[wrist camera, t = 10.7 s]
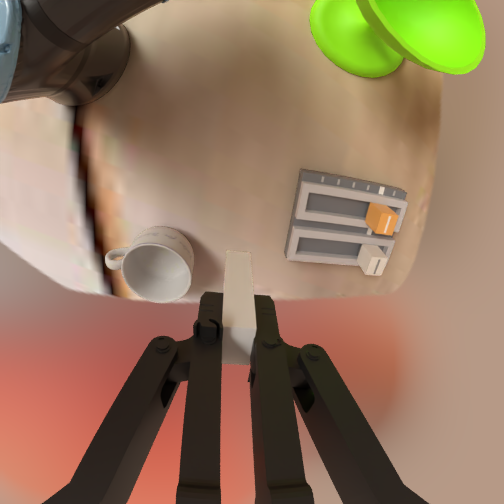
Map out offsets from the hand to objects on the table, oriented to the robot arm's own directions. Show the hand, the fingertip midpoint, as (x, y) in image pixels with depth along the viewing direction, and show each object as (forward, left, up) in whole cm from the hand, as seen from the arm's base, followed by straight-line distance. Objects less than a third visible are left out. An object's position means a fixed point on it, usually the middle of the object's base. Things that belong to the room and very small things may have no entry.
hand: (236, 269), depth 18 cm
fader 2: (+9, +22, -22) cm, 32 cm away
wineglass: (-26, +15, -25) cm, 39 cm away
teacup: (+13, -12, -25) cm, 30 cm away
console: (+5, +18, -24) cm, 31 cm away
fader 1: (+2, +21, -22) cm, 31 cm away
